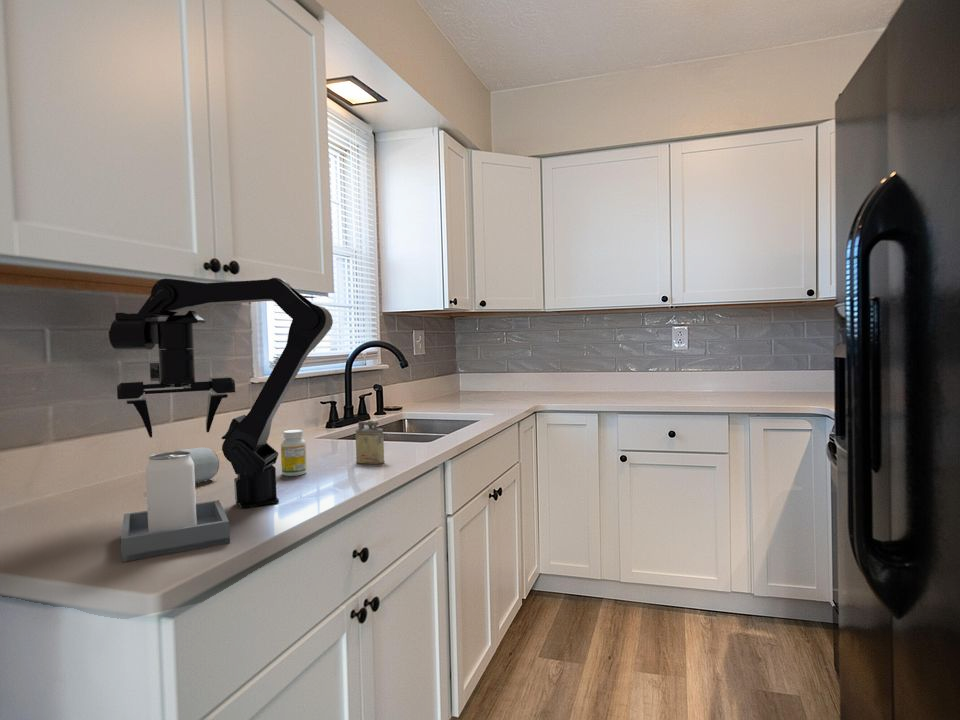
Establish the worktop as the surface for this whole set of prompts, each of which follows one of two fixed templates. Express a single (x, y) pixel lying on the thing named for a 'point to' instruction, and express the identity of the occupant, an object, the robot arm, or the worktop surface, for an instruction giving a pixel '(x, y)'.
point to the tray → (174, 533)
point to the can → (170, 491)
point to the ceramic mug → (203, 463)
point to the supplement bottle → (293, 453)
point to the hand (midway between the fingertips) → (179, 434)
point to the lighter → (369, 443)
